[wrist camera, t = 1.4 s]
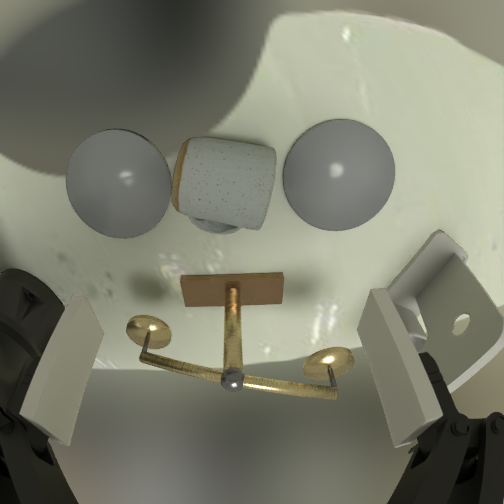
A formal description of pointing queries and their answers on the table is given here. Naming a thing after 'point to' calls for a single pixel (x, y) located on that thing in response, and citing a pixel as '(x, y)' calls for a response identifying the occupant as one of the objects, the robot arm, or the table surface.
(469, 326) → the phone holder
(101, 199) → the dish low side
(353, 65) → the table surface
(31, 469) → the robot arm
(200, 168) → the ceramic mug
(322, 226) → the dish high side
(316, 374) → the balance
